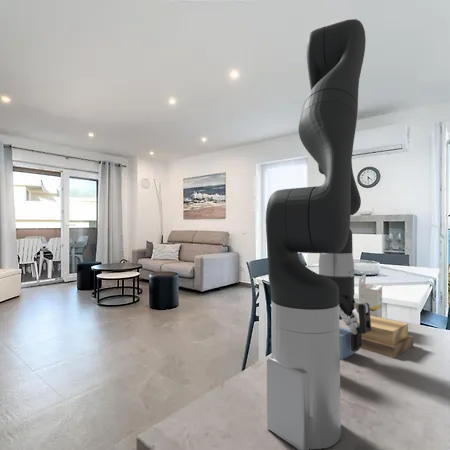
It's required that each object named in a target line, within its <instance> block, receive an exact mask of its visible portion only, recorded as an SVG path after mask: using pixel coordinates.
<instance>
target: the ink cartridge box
mask: <svg viewBox="0 0 450 450" xmlns="http://www.w3.org/2000/svg"><path fill="white" fill-rule="evenodd" d="M366 276H367V274H366V273H365V274H363V275H361V276H359V279H358V303H368V304H369V307H370V316H375V317H380V318H383V285H380V284H366Z"/></svg>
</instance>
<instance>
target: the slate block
mask: <svg viewBox="0 0 450 450" xmlns="http://www.w3.org/2000/svg"><path fill="white" fill-rule="evenodd" d="M351 334H352V331H351V330H350V328H349V329H348V328H345V327H341V326H339V338H340V360H344V359H347V358H348V357H350V356H352V355H354V354H356V352H354V351H352V350H351Z"/></svg>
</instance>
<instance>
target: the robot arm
mask: <svg viewBox="0 0 450 450" xmlns="http://www.w3.org/2000/svg"><path fill="white" fill-rule="evenodd" d="M365 51H366V31H365V27H364V25H363V23H362V22H361V20H359V19H356V18H355V19H351V18H350V19H346V20H343V21H339V22H335V23H332V24H328V25H326V26H322V27H319V28H316V29H314V30H312V31H311V32H310V33H309V35H308V37H307V40H306V64H307V70H308V79H309V87H310V90H309V92H308V94H307V95H306V97H305V99H304V102H303V105H302V109H301V114H300V118H299V121H298V122H299V123H298V136H299V140H300V141H301V143H302V145H303V147H304V148H305V150H306V152H308V153H309V155H310V156H311V158H313V159H314V161H315V162H316V163H317V166H318V167H317V168H318V173H320V174H321V175H324V177H325V179H324V182H323V184H322V185H318V186H317V185H316V186H307V187H295V188H294V187H293V188H284V189H278V190H275V191H274V192H272V194H271V195H270V196H269V198H268V202H267V205H266V211H265V233H266V235H265V237H266V249H267V273H268V281H269V286H270V287H269V288H270V300H271V301H270V302H271V303H270V305H271V308H270V309H271V311H270V313H271V315H270V316H271V318H270V319H271V323H270V324H271V328H270V329H271V356H269V357H268V358H267V359H266V428H267V429H268V430H270V431H271V432H272V433H274V434H276V436H278V437H279V438H281V439H282V440H284V441H285V442H287V443H288V444H289V445H291V446H292V447H294V448H295V449H297V450H309V449H310V450H321V449H322V448H323V449H327V448H330V447H332V446H334V445H335V444H336V443H338V442H339V440H340V439H341V436H342V409H341V408H342V406H341V404H342V402H341V359H340V338H339V327H340V320H342V321H343V322H344V324H345V325H346V326H348V328H349V330H351V331H352V334H351V350H352V351H354V352H355V353H356V352H358V351H359V350H360V349H362V348H361V346H362V334H365V333H366V332H369V331H371V320H370V307H369V304H368V303H359V302H356V300H355V273H356V272H355V262H354V253H353V249H354V248H353V232H352V230H351V216H354V215H355V214H357V213H358V212H359V210H360V209H361V204H362V202H361V201H362V198H361V195H360V192H359V189H358V185H357V182H356V179H355V176H354V171H353V161H352V160H353V152H354V151H353V150H354V143H355V137H356V128H357V123H358V122H357V120H358V109H359V108H358V107H359V88H360V87H359V84H360V78H361V72H362V68H363V63H364V58H365ZM300 253H301V254H319V257H318V273H317V272H315V271H313V270H312V269H310V268H308V267H307V266H306V265H305V264H303V263H302V261H301V259H300V257H299V254H300ZM354 310H356V313H357V314H358V317H357V315H356V313H354ZM358 320H359V322H358Z"/></svg>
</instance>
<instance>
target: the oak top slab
mask: <svg viewBox="0 0 450 450" xmlns="http://www.w3.org/2000/svg"><path fill="white" fill-rule="evenodd" d="M370 320H371V331H369V332H366V333H365V334H362V337H364V338H368V339H372V340H375V341H379V342H382V343H386V344H390V345H394V344H396V343H398V342H399V341H401V340H403V339H404V338H406V337H408V335H409V323H407V322H402V321H397V320H393V319H392V320H391V319H388V318H383V317H382V318H380V317H375V316H370ZM358 322H359V319H358Z"/></svg>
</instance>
